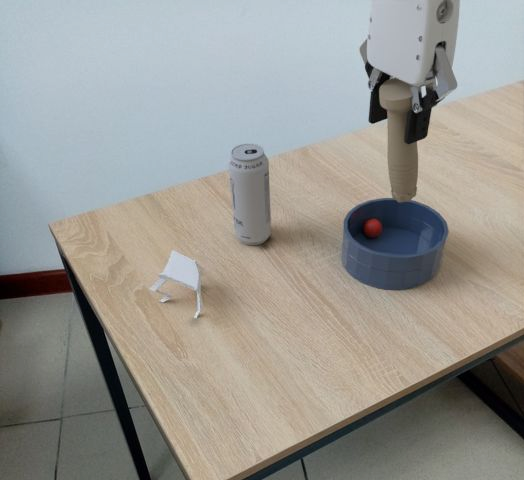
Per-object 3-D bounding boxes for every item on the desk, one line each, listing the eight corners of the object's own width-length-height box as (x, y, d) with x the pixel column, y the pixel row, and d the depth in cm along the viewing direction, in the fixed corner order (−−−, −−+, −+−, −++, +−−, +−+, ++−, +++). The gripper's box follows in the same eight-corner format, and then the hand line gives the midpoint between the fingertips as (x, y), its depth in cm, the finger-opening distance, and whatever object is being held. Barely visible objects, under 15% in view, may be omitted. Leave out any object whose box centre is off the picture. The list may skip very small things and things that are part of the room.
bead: (384, 216, 84) (369, 219, 87) (371, 218, 82) (357, 222, 85) (387, 234, 85) (373, 238, 87) (375, 237, 83) (361, 240, 85)
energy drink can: (234, 227, 91) (226, 143, 80) (269, 224, 91) (265, 140, 80) (236, 249, 87) (228, 163, 75) (273, 245, 87) (270, 159, 76)
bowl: (396, 219, 90) (401, 187, 86) (461, 266, 81) (470, 233, 76) (322, 250, 85) (323, 218, 81) (382, 303, 76) (387, 270, 72)
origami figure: (141, 292, 80) (134, 266, 77) (186, 268, 84) (181, 242, 80) (187, 333, 74) (182, 307, 70) (234, 305, 77) (231, 279, 74)
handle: (386, 212, 72) (379, 103, 62) (386, 186, 76) (379, 80, 66) (423, 208, 71) (422, 96, 60) (421, 182, 75) (419, 73, 65)
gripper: (512, -36, 50) (469, 147, 63) (392, -63, 60) (376, 99, 73) (452, -19, 47) (420, 167, 61) (337, -50, 58) (332, 114, 71)
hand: (396, 128), depth 67 cm, fingers closed on handle, 6 cm apart
